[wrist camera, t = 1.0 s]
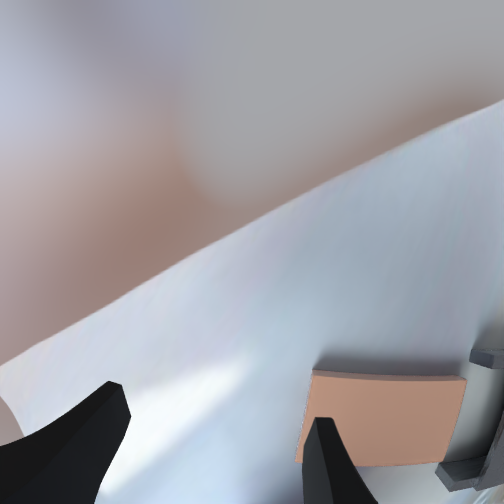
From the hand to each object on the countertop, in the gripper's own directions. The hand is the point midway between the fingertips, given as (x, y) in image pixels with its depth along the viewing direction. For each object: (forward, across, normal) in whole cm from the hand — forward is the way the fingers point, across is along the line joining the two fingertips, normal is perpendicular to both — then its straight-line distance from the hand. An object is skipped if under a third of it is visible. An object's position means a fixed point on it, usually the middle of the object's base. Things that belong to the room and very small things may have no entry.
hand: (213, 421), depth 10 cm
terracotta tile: (+8, -11, +8) cm, 16 cm away
